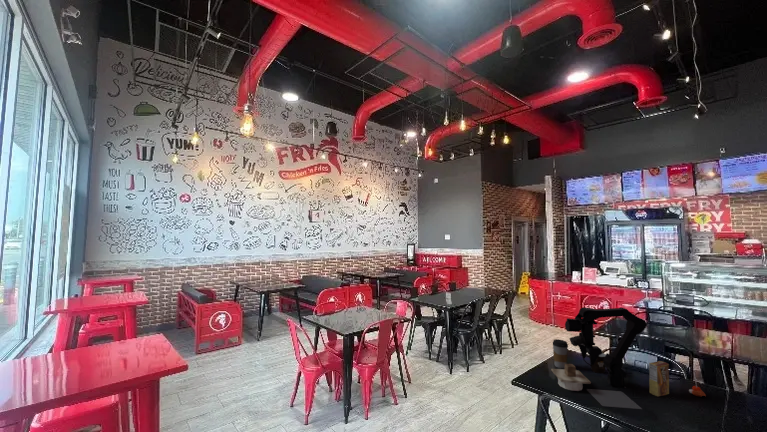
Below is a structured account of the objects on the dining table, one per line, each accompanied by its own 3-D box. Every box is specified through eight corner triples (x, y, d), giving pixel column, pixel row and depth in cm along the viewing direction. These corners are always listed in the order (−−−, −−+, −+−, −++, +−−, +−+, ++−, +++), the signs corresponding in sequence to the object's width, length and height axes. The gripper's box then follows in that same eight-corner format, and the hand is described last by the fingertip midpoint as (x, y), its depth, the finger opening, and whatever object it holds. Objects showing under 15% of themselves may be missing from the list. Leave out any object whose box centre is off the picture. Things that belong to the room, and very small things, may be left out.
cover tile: (578, 372, 181) (578, 361, 182) (590, 383, 168) (590, 371, 168) (551, 370, 183) (551, 359, 184) (561, 381, 170) (561, 369, 170)
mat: (621, 392, 170) (621, 391, 170) (642, 410, 153) (642, 409, 153) (585, 389, 172) (585, 388, 172) (602, 407, 155) (602, 405, 155)
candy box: (660, 390, 172) (659, 360, 173) (669, 394, 168) (669, 363, 169) (649, 393, 169) (648, 362, 170) (658, 397, 165) (657, 365, 166)
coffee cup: (570, 369, 196) (570, 344, 197) (555, 368, 198) (554, 343, 199) (565, 364, 205) (565, 339, 205) (551, 363, 206) (550, 338, 207)
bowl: (576, 382, 180) (576, 373, 180) (586, 392, 169) (586, 382, 169) (555, 381, 181) (555, 371, 182) (563, 390, 171) (563, 380, 171)
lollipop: (691, 398, 165) (690, 373, 165) (687, 390, 173) (687, 367, 173) (708, 401, 161) (707, 376, 162) (703, 393, 169) (702, 369, 170)
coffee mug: (606, 370, 196) (606, 353, 197) (607, 375, 189) (606, 357, 190) (583, 365, 203) (583, 349, 203) (583, 370, 195) (583, 353, 196)
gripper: (564, 326, 190) (564, 354, 189) (579, 336, 172) (579, 367, 171) (585, 327, 189) (585, 355, 188) (602, 337, 170) (603, 368, 169)
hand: (587, 361), depth 179 cm, fingers open, 9 cm apart
